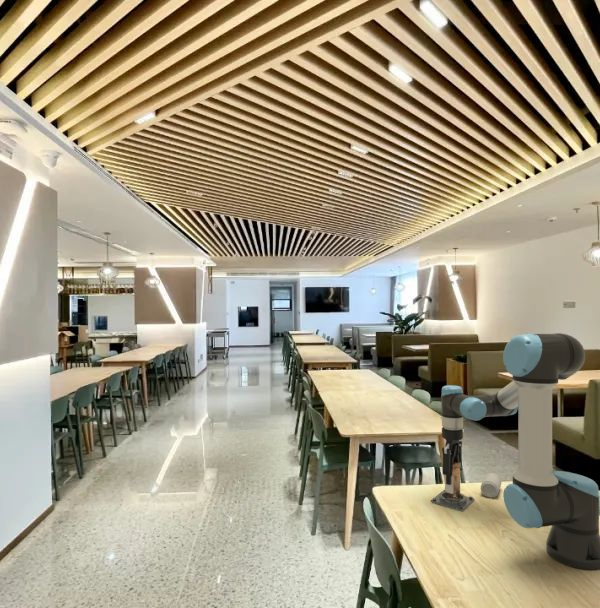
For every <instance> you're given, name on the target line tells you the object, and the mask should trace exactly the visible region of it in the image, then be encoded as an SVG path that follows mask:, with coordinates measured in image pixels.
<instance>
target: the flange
mask: <svg viewBox="0 0 600 608" xmlns="http://www.w3.org/2000/svg"><path fill="white" fill-rule="evenodd" d="M475 500H476V499H475V498H474V497H473V496H471V495H470V496H467V495H465V494H462V493H461V492H460V497H458V498H451V497H448V496H446V495H445V489H443V490H442V491H441V492H440V493H439V494H437V495H436V496H435V497H433V498H431V499H430V503H431V502H432V503H431V504H434V503H435V504H434V505H437V504H438V506H441V507H444V508H449V509H453V510H455V511H458V512H459V511H460V512H464V511H465V510H466V509H468V508H469V506H471V505H472V504H473V503H474V502H475Z"/></svg>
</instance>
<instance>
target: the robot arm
mask: <svg viewBox="0 0 600 608" xmlns="http://www.w3.org/2000/svg"><path fill="white" fill-rule="evenodd" d="M585 352H586V351H585V349H584V346H583V345H582V344H581V342H580V341H579V340H578V338H575V337H574V336H572V335H569V334H567V333H561V332H560V333H556V332H555V333H525V334H518V335H515V336H513V337H511V338H510V339H509V341H508V342H507V343H506V345H505V347H504V350H503V355H502V360H503V366H505V370H506V371H507V372H508V373H509V374H510V375H511V376H512V381H510V382H509V383H508V384H506V386H504V387H503V388H501V389H500V390H499V391H498V392H496V393H495V394H487V395H486V394H484V395H483V394H482V395H467V394H464V392H463V388H462V386H459V385H454V384H453V385H451V384H448V385H444V386H442V388H441V396H440V398H441V403H440V404H441V417H440V420H441V426H442V427H441V438H443V439H444V440H445V445H444V447H442V448H441V453H442V475H444V482H445V481H446V492H447V493H451V494H453V493H454V487H453V475H452V472H453V461H458V462H460V463H461V467H460V472H462V471H463V468H462V467H463V452H462V451H463V450H462V449H463V447H462V446H463V441H462V440H463V439H464V429H463V428H464V418H466V419H468V420H471V421H480V420H482V419H483V418H486V417H488V418H489V417H508V416H513V415H515V414H518V415H517V416H518V417H517V418H518V421H517V422H518V431H517V433H518V443H517V444H518V452H517V453H518V454H517V455H518V459H517V460H518V469H516V470H515V471H513V472H512V483H509V484H508V485H506V486H505V487H504V489H503V496H502V497H503V502H504V505H505V508H506V510H507V512H508V514H509V516H510V517H511V519H513V521H514V522H515V523H516V524H517V525H519V526H520V527H523V528H525V529H541V528H544V527H550V531H549V533H548V536H547V538H546V541H545V550H546V553H547V554H548V555H549V556H550V557H551V558H552V559H554V560H555V561H557V562H559V563H561V564H564V565H565V566H568V567H571V568H576V569H580V570H589V571H595V570H596V571H597V570H600V493H599V485H598V484H597V483H596V481H594V479H591V478H589V477H587V476H584V475H581V474H578V473H575V472H574V473H573V472H570V471H561V470H556V471H554V472H553V389H554V387H556V386H557V385H558V384H559V380H560V381H565V380H567V379H569V378H570V377H572V376H573V375H575V374H576V373H577V372H579V371H580V370H581V368H582V367H583V366H584V364H585V362H586V361H585V360H586V353H585ZM517 412H518V413H517Z"/></svg>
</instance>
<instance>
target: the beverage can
mask: <svg viewBox="0 0 600 608" xmlns="http://www.w3.org/2000/svg"><path fill="white" fill-rule="evenodd" d="M480 484H481V485H480V490H481V493H482V495H483V496H484V497H486V498H489V499H494V498H496V497H498V495H499V492H500V490H501V487H502V480H501V478H500V476H499V475H498V474H496V473H493V472H489V473H487V474H485V476H484V477H483V480H482V482H481V483H480Z"/></svg>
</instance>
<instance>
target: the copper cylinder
mask: <svg viewBox="0 0 600 608" xmlns="http://www.w3.org/2000/svg"><path fill="white" fill-rule="evenodd" d="M460 468H462V467H461V463H460V462H458V461H453V472H452V475H453V487H454V493H453V494H451V493H447V492H446V481H445V480H444V490H445V495H446V496H448V497H451V498H458V497H460V493H461V471H460Z"/></svg>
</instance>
